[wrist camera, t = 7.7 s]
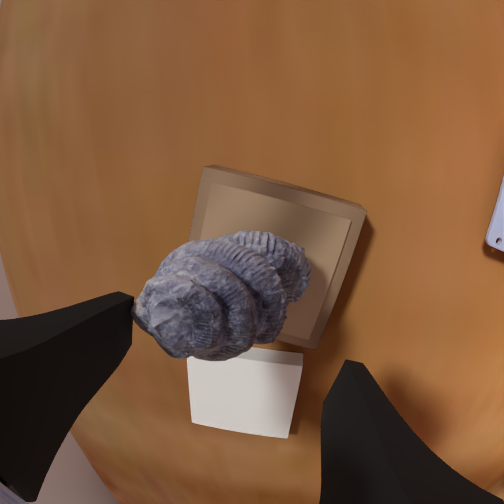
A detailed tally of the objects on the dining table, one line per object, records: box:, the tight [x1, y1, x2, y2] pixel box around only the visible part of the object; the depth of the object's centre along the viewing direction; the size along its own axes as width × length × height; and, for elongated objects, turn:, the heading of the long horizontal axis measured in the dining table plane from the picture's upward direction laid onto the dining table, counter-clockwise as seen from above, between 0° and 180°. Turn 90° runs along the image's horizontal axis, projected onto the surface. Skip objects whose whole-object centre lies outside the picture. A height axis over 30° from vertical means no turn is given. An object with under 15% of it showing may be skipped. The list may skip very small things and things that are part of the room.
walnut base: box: [189, 165, 367, 350], centre depth 19 cm, size 9×9×2 cm
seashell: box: [130, 230, 312, 361], centre depth 13 cm, size 5×5×10 cm
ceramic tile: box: [187, 347, 303, 438], centre depth 23 cm, size 8×8×2 cm
